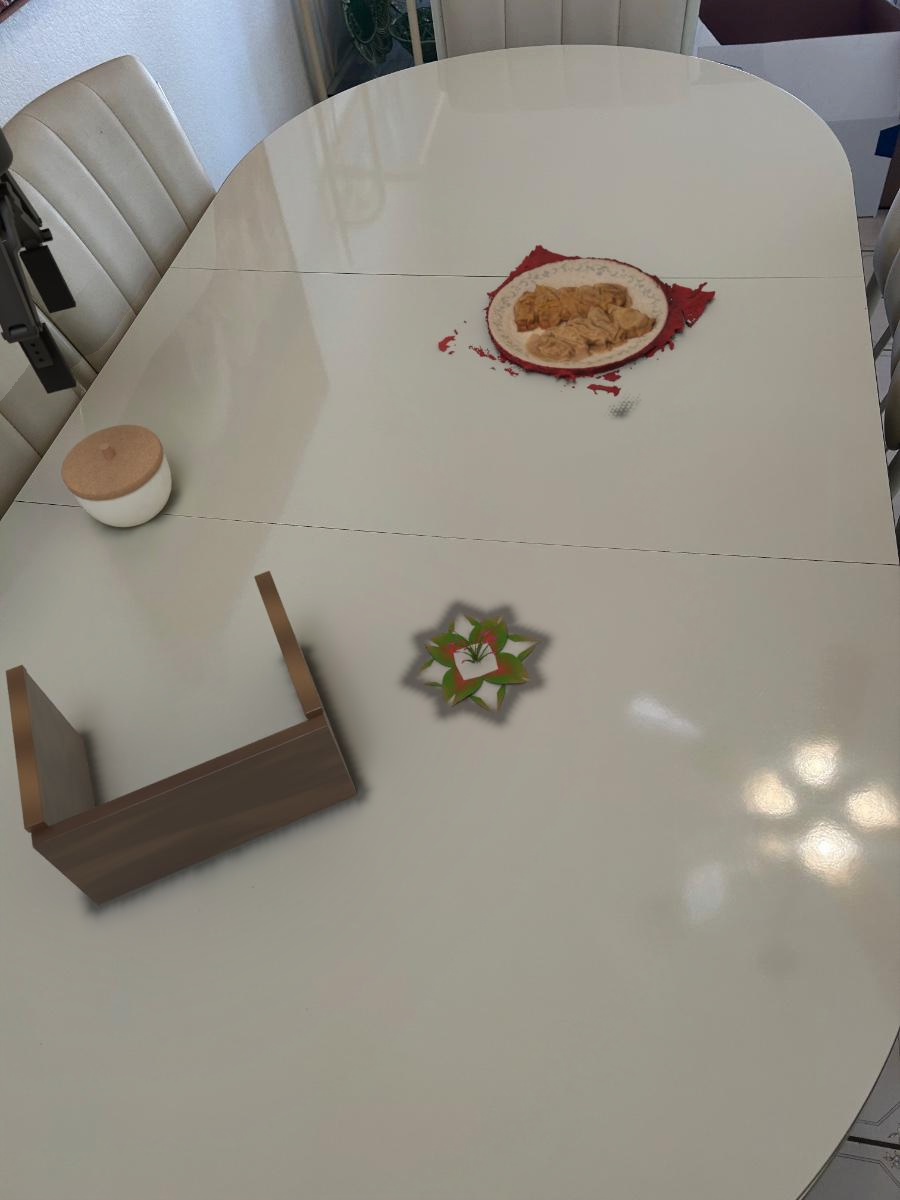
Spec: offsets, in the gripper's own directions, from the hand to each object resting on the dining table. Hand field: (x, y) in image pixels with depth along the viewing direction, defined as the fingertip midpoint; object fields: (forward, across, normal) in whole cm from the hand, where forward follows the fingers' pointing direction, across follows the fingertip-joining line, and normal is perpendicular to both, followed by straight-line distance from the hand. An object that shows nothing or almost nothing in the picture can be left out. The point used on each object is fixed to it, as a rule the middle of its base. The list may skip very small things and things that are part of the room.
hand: (62, 346), depth 91 cm
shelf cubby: (+20, -38, -4) cm, 43 cm away
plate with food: (+20, +9, -55) cm, 59 cm away
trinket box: (+20, -2, 0) cm, 20 cm away
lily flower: (+20, -36, -30) cm, 51 cm away
